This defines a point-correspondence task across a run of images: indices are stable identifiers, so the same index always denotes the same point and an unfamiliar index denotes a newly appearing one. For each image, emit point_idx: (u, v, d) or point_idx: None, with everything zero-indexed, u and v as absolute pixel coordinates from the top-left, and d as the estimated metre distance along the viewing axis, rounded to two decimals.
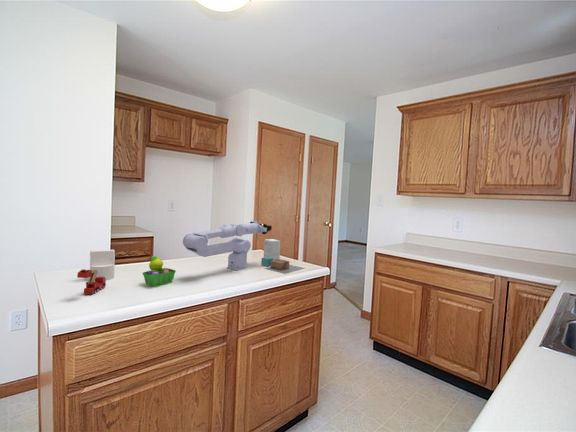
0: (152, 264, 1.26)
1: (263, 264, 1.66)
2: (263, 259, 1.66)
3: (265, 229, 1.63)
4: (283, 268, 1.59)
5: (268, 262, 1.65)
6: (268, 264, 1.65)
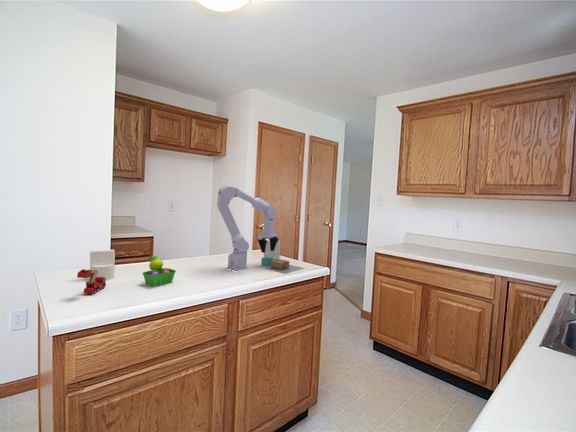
0: (152, 264, 1.26)
1: (263, 264, 1.66)
2: (263, 259, 1.66)
3: (259, 237, 1.60)
4: (283, 268, 1.59)
5: (268, 262, 1.65)
6: (268, 264, 1.65)
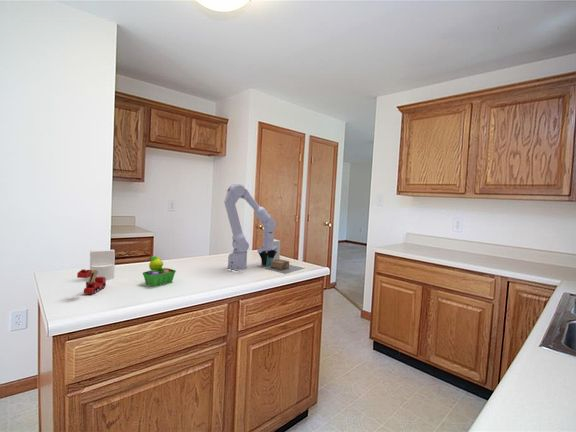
0: (152, 264, 1.26)
1: None
2: None
3: (259, 250, 1.61)
4: (283, 268, 1.59)
5: (268, 261, 1.65)
6: (268, 264, 1.65)
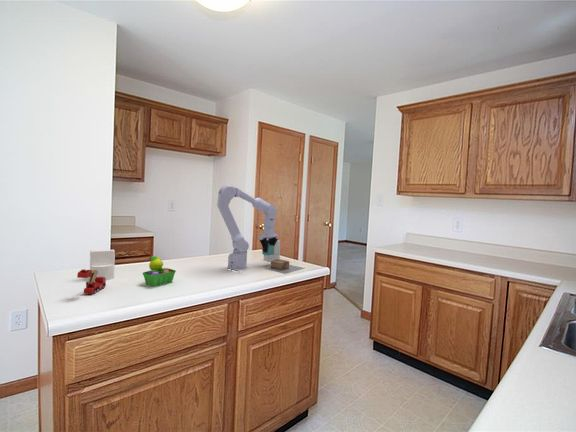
0: (152, 264, 1.26)
1: None
2: None
3: (260, 237, 1.60)
4: (283, 268, 1.59)
5: (270, 249, 1.64)
6: (269, 251, 1.64)
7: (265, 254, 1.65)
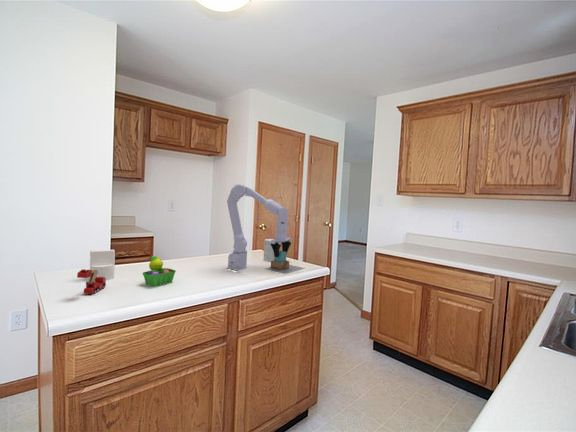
0: (152, 264, 1.26)
1: (276, 258, 1.60)
2: None
3: (272, 241, 1.55)
4: (283, 268, 1.59)
5: (282, 255, 1.59)
6: (281, 258, 1.59)
7: (277, 261, 1.60)
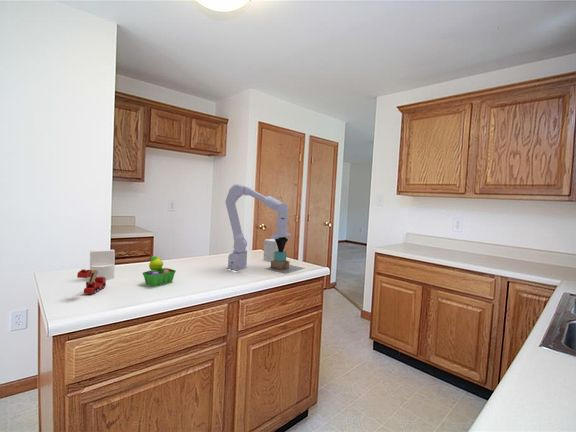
0: (152, 264, 1.26)
1: (276, 258, 1.60)
2: (276, 253, 1.60)
3: (273, 237, 1.55)
4: (283, 268, 1.59)
5: (282, 255, 1.59)
6: (281, 258, 1.59)
7: (277, 261, 1.60)
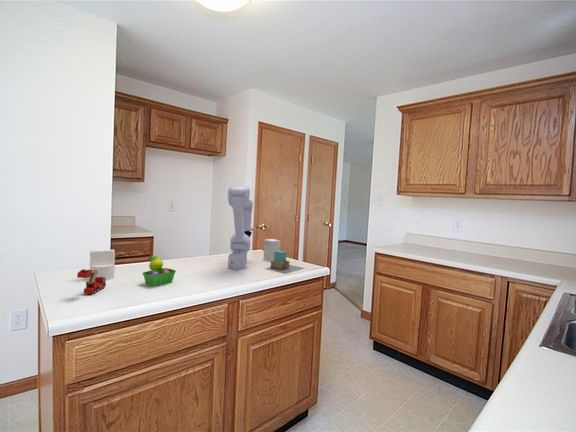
0: (152, 264, 1.26)
1: (276, 258, 1.60)
2: (276, 253, 1.60)
3: None
4: (283, 268, 1.59)
5: (282, 255, 1.59)
6: (281, 258, 1.59)
7: (277, 261, 1.60)
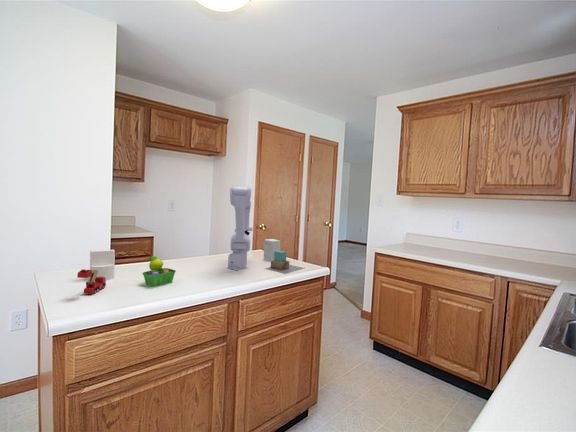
0: (152, 264, 1.26)
1: (276, 258, 1.60)
2: (276, 253, 1.60)
3: None
4: (283, 268, 1.59)
5: (282, 255, 1.59)
6: (281, 258, 1.59)
7: (277, 261, 1.60)
